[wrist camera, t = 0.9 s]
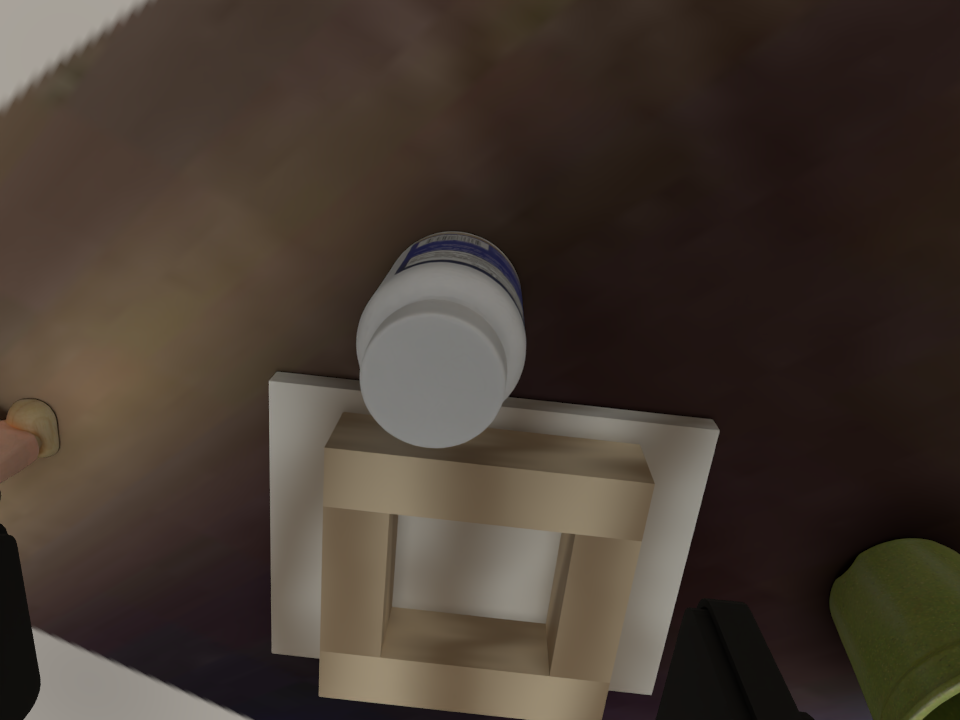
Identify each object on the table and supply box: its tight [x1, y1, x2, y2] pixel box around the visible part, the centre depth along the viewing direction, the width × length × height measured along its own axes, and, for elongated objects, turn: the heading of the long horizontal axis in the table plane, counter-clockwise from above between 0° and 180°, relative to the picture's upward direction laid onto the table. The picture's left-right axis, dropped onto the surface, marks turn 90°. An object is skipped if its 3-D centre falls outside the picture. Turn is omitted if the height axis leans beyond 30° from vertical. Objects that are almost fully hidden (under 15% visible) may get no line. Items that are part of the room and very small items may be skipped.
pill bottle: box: [356, 231, 526, 448], centre depth 22 cm, size 5×5×9 cm
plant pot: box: [829, 538, 960, 720], centre depth 26 cm, size 9×9×9 cm
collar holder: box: [269, 372, 720, 720], centre depth 28 cm, size 18×14×4 cm
